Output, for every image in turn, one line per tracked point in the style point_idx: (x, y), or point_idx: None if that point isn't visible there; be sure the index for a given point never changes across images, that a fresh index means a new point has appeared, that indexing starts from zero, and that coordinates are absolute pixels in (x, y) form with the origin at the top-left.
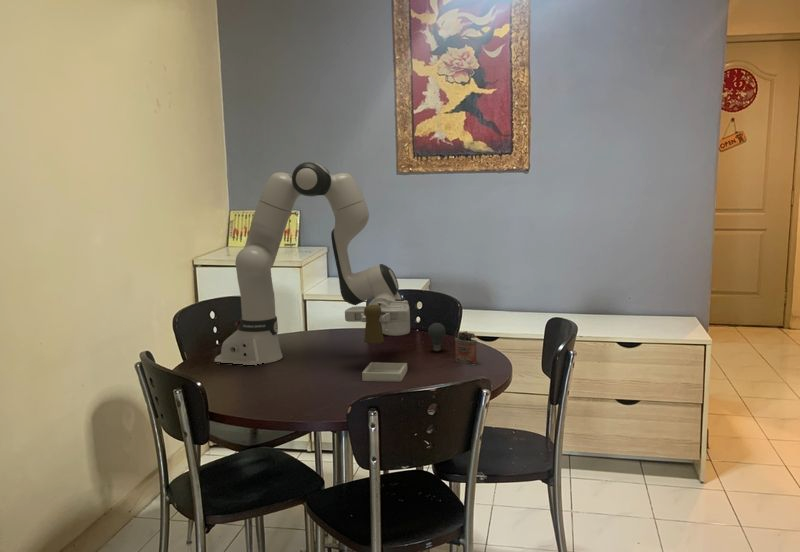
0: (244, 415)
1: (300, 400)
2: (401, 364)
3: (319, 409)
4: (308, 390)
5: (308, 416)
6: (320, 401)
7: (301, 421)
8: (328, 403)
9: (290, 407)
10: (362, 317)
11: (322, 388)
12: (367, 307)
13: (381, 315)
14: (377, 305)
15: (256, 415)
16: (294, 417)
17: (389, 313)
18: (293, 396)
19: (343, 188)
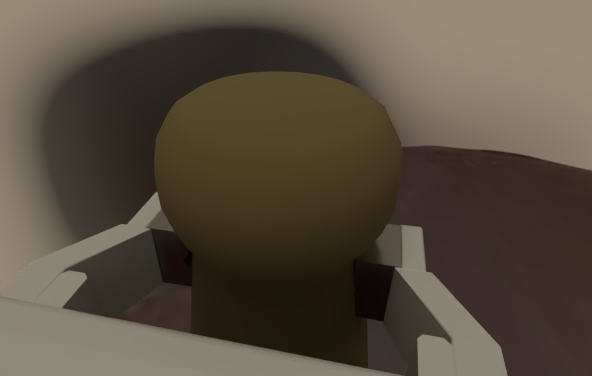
0: (582, 173)
1: (506, 231)
2: None
3: (421, 184)
4: (539, 306)
5: (430, 160)
6: (442, 221)
7: (434, 147)
8: (413, 209)
9: (503, 197)
10: (408, 228)
11: (496, 322)
12: (347, 83)
13: (167, 230)
14: (200, 97)
15: (553, 171)
16: (458, 159)
17: (16, 278)
18: (553, 260)
19: None
